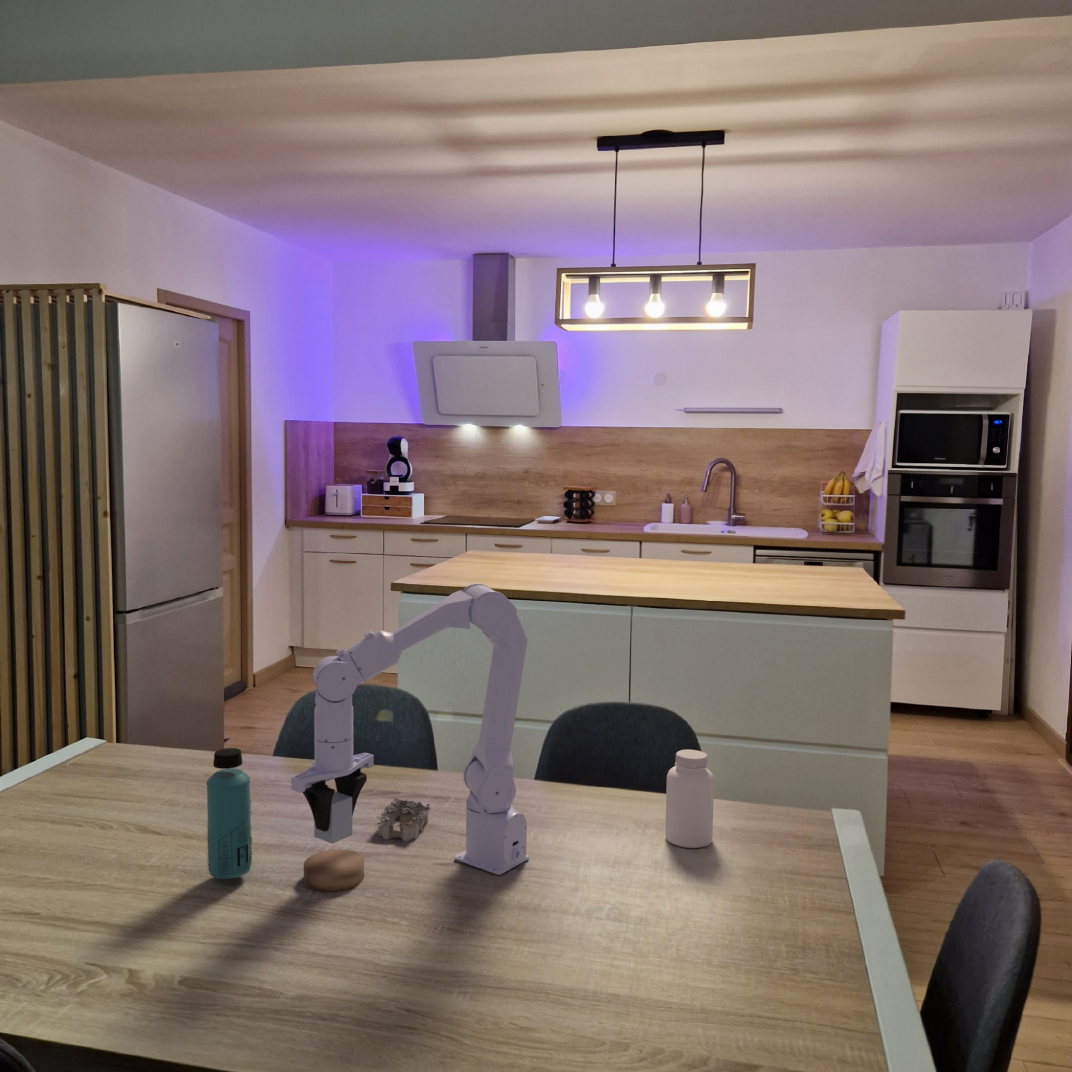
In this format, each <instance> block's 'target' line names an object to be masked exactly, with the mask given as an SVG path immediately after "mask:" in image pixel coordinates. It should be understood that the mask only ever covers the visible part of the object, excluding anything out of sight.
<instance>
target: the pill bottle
mask: <svg viewBox="0 0 1072 1072" xmlns="http://www.w3.org/2000/svg"><path fill="white" fill-rule="evenodd" d="M707 766H708V754H707V753H706V752H704V751H702V750H701V751H700V750H696V749H681V750H679V751H677V752H676V753H675V761H674V766H673V767H671V768H670V769H669V770H668V771H667V772H668V773H667V775H666V792H665V793H666V794H665V795H666V797H665V830H664V831H665V838H666V840H667V841H668V842H669V843H670V844H673V845H675V846H677V847H681V848H685V849H686V848H687V849H688V848H689V849H697V848H699V849H700V848H705V847H707V846H709V845H710V844H711V842H712V840H713V827H714V799H715V798H714V797H715V795H714V794H715V776H714V774H713V773H712V771H710V769H708V768H707Z"/></svg>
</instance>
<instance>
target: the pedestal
mask: <svg viewBox="0 0 1072 1072" xmlns="http://www.w3.org/2000/svg"><path fill="white" fill-rule="evenodd" d="M364 878H365V857H364V856H363V855H362V854H361V853H360V852H359V853H358V852H356V851H353V850H349V849H329V850H323V851H320V852H317V853H315V854H314V853H313V854H312V855H310V856H309V857H307V858H306V859H305V860H304V862H303V883H304V885H305V887H307V888H308V889H311V890H313V889H314V890H313V891H316V890H318V891H317V892H323V893H326V892H327V893H333V892H334V891H336V892H340V891H341V890H342V891H346V890H349V889H351V888H352V889H353V888H354V887H356V886H358V885H359V884H361V883H362V881H363V880H364Z"/></svg>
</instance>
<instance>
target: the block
mask: <svg viewBox="0 0 1072 1072" xmlns="http://www.w3.org/2000/svg"><path fill="white" fill-rule="evenodd" d="M313 824H314V826H313V827H314V829H313V830H314V831H313V833H314V836H313V837H314V838H316V839H318V840H322V841H323V842H327V843H330V844H332V845H333V844H335V843H337V842H339V841H340V842H341V841H342V840H344V839H346V838H349V837H352V836H353V816H352V797H351V796H348V795H345V794H342V793H339V792H337V790H335V792H334V795H333V798H332V803H331V808H330V824H329V829H328V831H325V832H324V831H321V830H319V829H316V825H315V821H314V820H313Z"/></svg>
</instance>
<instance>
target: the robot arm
mask: <svg viewBox="0 0 1072 1072" xmlns="http://www.w3.org/2000/svg"><path fill="white" fill-rule="evenodd" d="M517 612H518V610H517V607H516V606H515V604H513V603H512V602H511V601H510V600H509V599H508V597H506V595H504V594H503V593H502V592H499V591H495V590H494V589H492V588H490V587H489V586H488V585H486V584H483V583H477V582H476V583H473V584H472V583H471V584H469V585H467V586H466V587H465V588H463V590H457V591H455V592H453V593H451V594H450V595H448V596H446V597H445V598H444V599H442V600H440V601H439V602H437V603H436V604H434V605H433V606H431V607H430V608H428V609H427V610H425V611H422V612H421V613H420V614H418V615H417V616H415V617H413V618H412V619H411V620H409V621H407V622H406V623H404V624H402V625H401V626H399V627H398V628H396V629H394V630H393V631H391V632H390V631H385V630H382V629H380V630H377V631H376V632H373V631H372V630H369V631H367V632H366V633H363V636H364V638H363V639H361V640H360V641H359V640H358V642H356V643H355V644H353V645H351V646H349V647H347V648H346V649H344V650H343V649H342V648H339V649H337V650H336V651H335V653H336V654H337V655H333V656H332V655H329V656H326V657H324V658H321V659H320V660H319V661H318V662H317V663H316V666H315V667H314V669H313V673H311V680H312V682H313V685H314V686H315V687H316V690H315V697H314V703H315V706H314V711H313V712H314V717H313V718H314V728H313V729H314V760H313V761H312V766H310V767H308V768H307V769H305V770H303V771H302V772H300V773H299V774H296V775H293V776H290V777H291V780H290V781H291V782H290V783H291V791H294V792H296V793H302V794H303V795H304V797H305V798H306V801H307V803H308V806H309V808H310V811H311V814H312V817H313V822H314V821H315V825H316V829H319V830H321V831H324V832H325V831H328V829H329V824H330V808H331V803H332V798H333V795H334V792H335V791H336V792H339V793H342V794H345V795H348V796H351V797H352V817H353V815H354V812H355V808H356V804H357V801H358V799H359V796H360V793H361V791H362V790H363V787H364V786H365V784H366V782H367V781H368V779H367V777H368V775H367V774H366V773H363V772H361V771H362V769H366V768H367V769H371V768H373V767H374V764H375V763H374V754H371V753H368V752H363V753H359V754H354V706H353V694H354V693H355V691H356V689H357V687H358V685H362V684H364V683H365V682H367V681H370V680H371V679H372V678H374V677H376V676H377V675H380V674H381V673H382V672H384V671H387V670H388V669H390V668H391V667H393V666H394V665H396V664H398V663H399V660H400V657H401V654H403V653H402V652H403V651H405V650H407V649H410V648H411V647H413V646H414V645H417V644H418V643H421V642H423V641H425V640H426V639H428V638H430V637H432V636H433V635H436V634H438V633H440V632H442V631H444V630H445V629H447V628H448V629H449V628H452V629H453V628H455V629H466V630H471V624H472V625H474V626H476V628H478V629H479V630H481V632H482V634H483V635H484V636H485V637H486V638H487V639H488V641H489V642H490V643H491V644H492V646H493V648H492V653H491V655H492V656H491V662H490V667H489V674H488V679H487V681H488V682H487V685H486V693H485V700H484V705H483V713H482V719H481V726H480V731H479V739H478V742H477V743H476V744H475V745H474V747H473V748H472V754H471V757H470V760H469V761H468V762H467V764H466V766H465V767H464V770H463V782H464V785H465V786H466V788H468V789H469V794H468V797H467V799H466V800H465V801H466V807H465V811H466V815H465V819H466V820H465V850H463V851H461V852H459V853H457V854H455V855H454V857H453V859H454V860H456V861H458V862H461V863H464V864H465V865H466V864H467V865H470V866H471V867H475V868H478V869H480V870H483V871H486V872H489V873H491V874H493V875H496V876H500V875H502V874H503V875H504V874H505V873H506V872H508V871H510V870H512V869H513V868H514V867H516V866H518V865H520V864H522V863H524V862H525V861H527V860H529V859H530V855H529V854H527V839H528V838H527V837H528V836H527V831H528V827H527V826H528V825H527V819H526V817H525V815H524V814H523V813H522V812H519V811H518V810H517V809H515V808H514V807H513V804H512V803H513V801H514V800H515V798H516V793H517V788H516V787H517V786H516V783H515V781H514V769H515V766H514V761H513V756H512V751H511V747H512V741H513V734H514V729H515V728H514V727H515V721H516V716H517V709H518V704H519V697H520V691H521V684H522V676H523V671H524V667H525V666H524V664H525V659H526V651H527V647H528V638H527V635H526V632H525V631H524V628H523V626H522V623H521V621H520V618H519V616H518V613H517ZM331 780H334V784H335V788H336V790H335V788H331V787H329V786H328V784H327V783H326V782H328V781H331Z"/></svg>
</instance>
